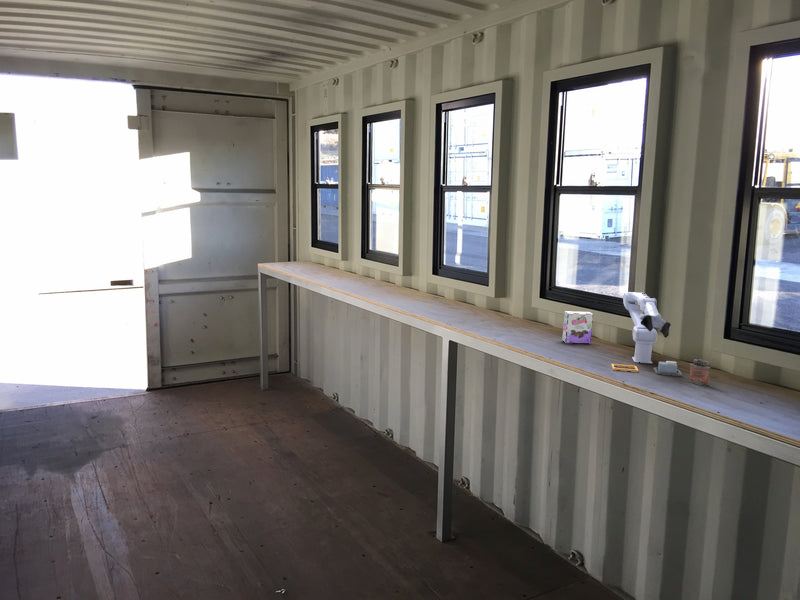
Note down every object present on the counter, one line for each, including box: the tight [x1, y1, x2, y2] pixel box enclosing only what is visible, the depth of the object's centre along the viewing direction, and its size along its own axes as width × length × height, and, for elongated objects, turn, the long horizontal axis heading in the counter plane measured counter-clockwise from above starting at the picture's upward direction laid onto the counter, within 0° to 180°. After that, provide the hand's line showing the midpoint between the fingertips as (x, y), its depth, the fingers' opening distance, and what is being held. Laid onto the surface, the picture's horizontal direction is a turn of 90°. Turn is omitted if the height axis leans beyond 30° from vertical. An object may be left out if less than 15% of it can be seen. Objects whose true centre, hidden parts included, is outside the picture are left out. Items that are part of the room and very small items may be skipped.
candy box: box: [561, 310, 594, 345], centre depth 337 cm, size 14×6×16 cm, turn 92°
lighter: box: [688, 358, 711, 386], centre depth 266 cm, size 8×3×10 cm, turn 40°
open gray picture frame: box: [652, 367, 683, 377], centre depth 281 cm, size 8×11×1 cm
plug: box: [657, 360, 678, 373], centre depth 281 cm, size 4×7×5 cm, turn 77°
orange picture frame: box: [610, 363, 639, 373], centre depth 285 cm, size 8×11×1 cm
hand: (659, 332), depth 278 cm, fingers open, 7 cm apart
